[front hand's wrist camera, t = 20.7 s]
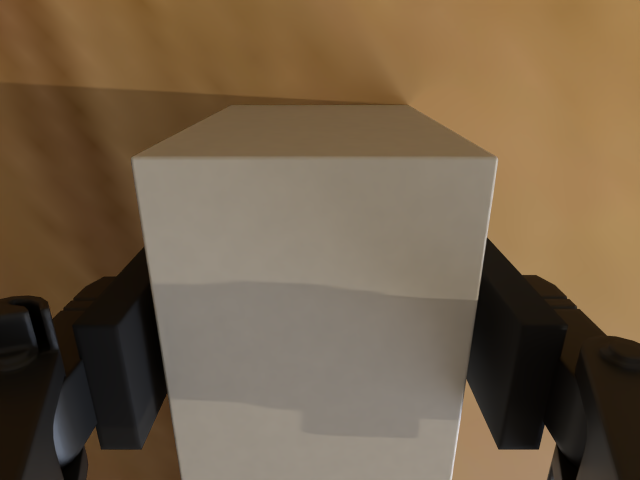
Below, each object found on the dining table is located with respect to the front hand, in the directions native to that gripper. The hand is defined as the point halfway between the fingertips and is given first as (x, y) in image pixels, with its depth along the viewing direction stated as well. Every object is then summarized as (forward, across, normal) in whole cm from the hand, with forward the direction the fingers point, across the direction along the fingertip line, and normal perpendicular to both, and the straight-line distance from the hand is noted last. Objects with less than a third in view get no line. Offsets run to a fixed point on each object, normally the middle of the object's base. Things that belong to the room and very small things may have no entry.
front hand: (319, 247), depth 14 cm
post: (+3, 0, -37) cm, 37 cm away
